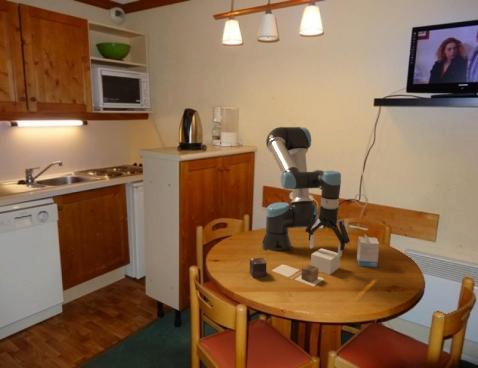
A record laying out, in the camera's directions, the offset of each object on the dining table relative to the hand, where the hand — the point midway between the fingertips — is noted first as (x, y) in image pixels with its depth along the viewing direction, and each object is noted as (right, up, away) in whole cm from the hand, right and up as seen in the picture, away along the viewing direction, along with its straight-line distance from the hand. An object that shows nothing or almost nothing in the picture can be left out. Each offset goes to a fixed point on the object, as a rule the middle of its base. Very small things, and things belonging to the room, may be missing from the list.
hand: (325, 251), depth 155 cm
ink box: (+22, -7, +10) cm, 25 cm away
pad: (-18, -8, -2) cm, 20 cm away
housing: (0, -9, +1) cm, 9 cm away
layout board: (-13, -10, -5) cm, 17 cm away
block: (-9, -9, -10) cm, 16 cm away
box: (-31, -10, -5) cm, 33 cm away
